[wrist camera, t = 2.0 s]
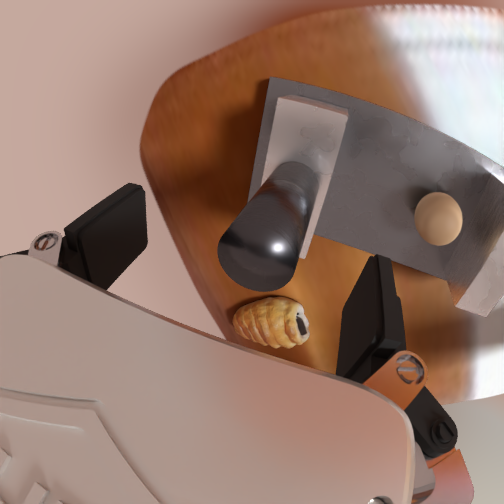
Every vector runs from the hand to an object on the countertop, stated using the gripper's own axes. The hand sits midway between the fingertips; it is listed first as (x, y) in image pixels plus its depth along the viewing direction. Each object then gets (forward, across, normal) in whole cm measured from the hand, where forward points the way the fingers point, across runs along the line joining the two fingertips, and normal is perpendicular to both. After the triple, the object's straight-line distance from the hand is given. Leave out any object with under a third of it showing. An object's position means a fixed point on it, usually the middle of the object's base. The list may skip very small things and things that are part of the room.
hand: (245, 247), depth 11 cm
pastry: (+15, -2, +20) cm, 25 cm away
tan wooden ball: (+10, -12, 0) cm, 16 cm away
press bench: (+14, -9, 0) cm, 17 cm away
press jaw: (+13, -1, 0) cm, 13 cm away
